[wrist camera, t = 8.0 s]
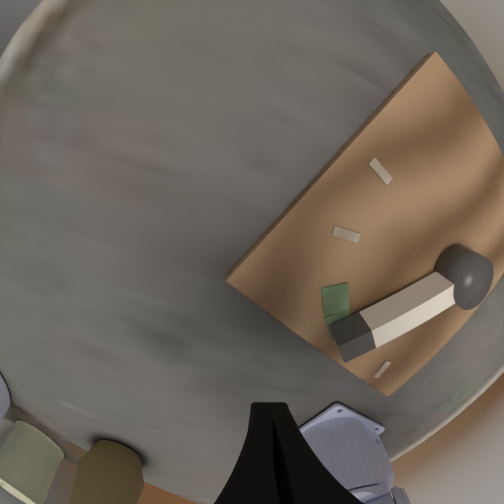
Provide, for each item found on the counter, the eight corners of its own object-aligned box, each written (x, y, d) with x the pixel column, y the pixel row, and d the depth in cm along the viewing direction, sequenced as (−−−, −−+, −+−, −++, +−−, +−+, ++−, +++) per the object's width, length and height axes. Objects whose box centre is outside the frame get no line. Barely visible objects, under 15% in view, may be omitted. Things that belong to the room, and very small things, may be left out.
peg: (467, 235, 17) (492, 247, 15) (471, 278, 19) (493, 294, 16) (322, 311, 19) (335, 336, 16) (338, 351, 20) (350, 378, 17)
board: (525, 225, 19) (532, 228, 17) (384, 390, 23) (388, 398, 22) (428, 54, 14) (436, 50, 13) (226, 274, 19) (225, 282, 18)
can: (21, 413, 25) (-13, 470, 14) (71, 452, 27) (47, 513, 16) (11, 427, 27) (-16, 475, 15) (55, 461, 29) (34, 511, 18)
